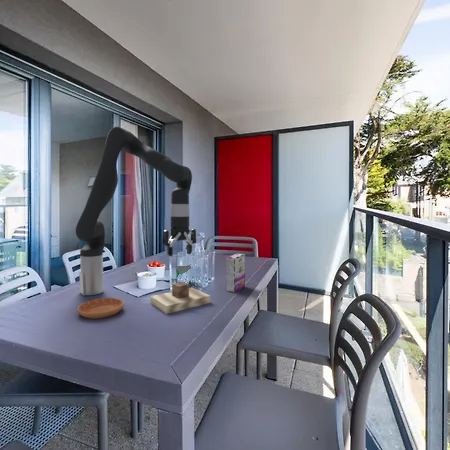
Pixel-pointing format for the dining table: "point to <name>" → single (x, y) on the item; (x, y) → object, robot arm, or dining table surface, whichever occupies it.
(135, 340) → the dining table surface
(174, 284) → the walnut cube
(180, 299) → the wooden block
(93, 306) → the saucer
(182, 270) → the food container
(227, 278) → the candy bar box
